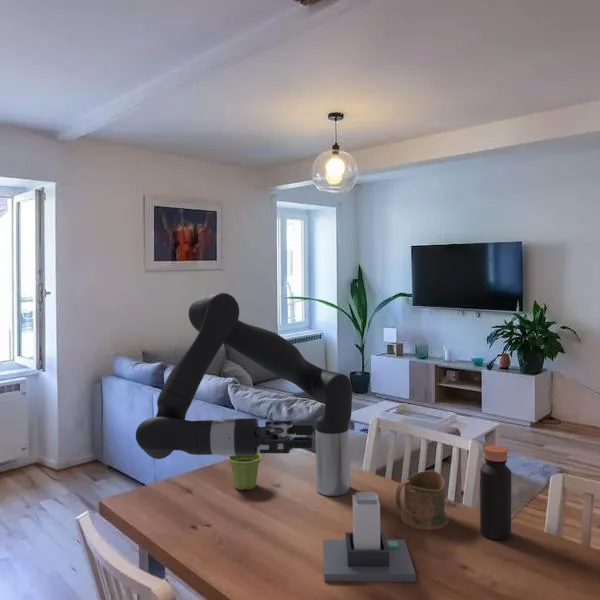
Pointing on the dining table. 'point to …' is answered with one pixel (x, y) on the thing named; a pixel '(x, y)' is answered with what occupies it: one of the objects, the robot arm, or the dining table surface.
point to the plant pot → (245, 470)
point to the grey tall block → (366, 521)
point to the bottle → (495, 495)
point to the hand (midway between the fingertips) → (312, 435)
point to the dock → (367, 561)
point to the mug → (423, 501)
